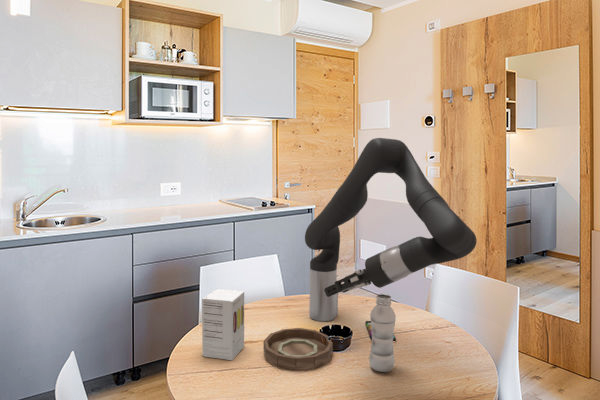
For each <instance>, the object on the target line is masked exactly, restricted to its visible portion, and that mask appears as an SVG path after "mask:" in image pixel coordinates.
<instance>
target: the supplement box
mask: <svg viewBox="0 0 600 400" xmlns="http://www.w3.org/2000/svg"><path fill="white" fill-rule="evenodd" d="M201 323H202V324H201V325H202V326H201V329H202V330H201V331H202V333H201V334H202V335H201V336H202V347H201V349H202V350H201V351H202V357H205V358H213V359H218V360H219V359H221V360H225V361H226V360H228V361H233V360H234V359H235V358H236V357H237V356H238V355H239V353H240V352H241V351H242V349H244V348H245V291H243V290H242V291H241V290H234V289H233V290H230V289H223V288H221V289H219V288H218V289H217V288H215V289H214V290H213V291H212V292H210V293H208V294H207V295H206V296H203V298H201Z"/></svg>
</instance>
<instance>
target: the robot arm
mask: <svg viewBox="0 0 600 400" xmlns="http://www.w3.org/2000/svg"><path fill="white" fill-rule="evenodd" d="M378 173H382V174H395V175H397V176H398V177H399V178H400V179H401V180H402V181H403V183H404V184H405V197H406V200H407V203H408V205H409V206H410V207H411V209H412V210H413V212H414V213H415V214H416V216H417V217H418V219H420V220H421V221H422V223H423V224H424V225H425V227H426V229H427V231H428V232H429V234H430V236H431V238H430V237H429V238H428V237H425V236H416V237H413V238H411V239H409V240H407V241H405V242H403V243H400V244H397V245H395V246H392V247H388V248H387V249H384V250H383V251H380V252H378V253H376V254H374V255H372V256H370V257H368V258H366V259H365V261H364V266H365V268H363V269H358V270H356V271H355V272H353V273H351V274H348V275H345V276H344V277H343V278H341V279H338V280H337V277H338V276H337V275H338V274H337V273H338V271H337V270H338V264H339V263H338V262H339V260H340V259H339V258H340V246H341V245H340V244H341V231H340V228H339V227H340V226H342V225H344V224H346V223H347V222H349V221H350V220H352V219H353V218H354V217H356V216H357V215H358V214H359V213H360V211H362V209H363V208H364V207H365V205H366V203H367V202H368V197H369V196H368V195H369V194H368V193H369V192H368V183H369V181H370V180H371V179H372V178H373V177H374V176H375V175H376V174H378ZM304 234H305V235H304V242H305V245H306V247H308V248H309V249H310V250H313V251H314V250H315V251H320V250H321V252H320V253H319V254H318V255H316V256H315V257H312V258H311V260H310V262H309V307H308V309H309V314H308V315H309V318H310V319H311V320H314V321H318V322H329V321H333V320H335V319H336V317H338V315H339V313H338V312H339V310H338V309H339V293H347V292H349V291H352V290H355V289H359V288H361V289H362V288H364V287H367V286H370V285H372V284H373V286H375V287H377V288H379V289H381V288H384V287H386V286H388V285H390V284H393V283H395V282H398V281H400V280H402V279H405V278H407V277H408V276H410V275H412V274H413V273H416V272H418V271H420V270H423V269H426V268H428V267H429V266H432V265H438V264H442V263H447V262H452V261H456V260H461V258H462V259H463V258H464V257H466V256H468V255H469V254H471V253H472V251H474V250H475V247H476V245H477V241H478V239H477V235H476V234H475V232H474V231H473V230H472V229H471V228H470V227H469V226H468V225H467V224H466V223H465V222H464V221H463V220H462V218H460V217H459V216H458V215H457V214H456V212H454V210H453V209H452V208H450V205H449V204H448V202H447V201H446V200H445V199H444V198H443V197H442V196H441V194H440V193H439V192H438V190H437V189H435V187H434V186H433V185H432V184H431V183H430V181H429V180H428V179H427V178H426V176H425V174H424V173H423V171H422V170H421V168H420V166H419V164H418V162H417V160H416V159H415V157H414V155H413V154H412V151H410V149H409V147H408V146H407V145H406V144H405V142H404V141H402V140H401V139H400V140H399V139H395V138H385V137H384V138H383V137H375V138H372V139H370V140H369V142H367V144H366V145H365V146H364V148H363V150H362V151H361V153H360V155H359V157H358V159H357V160H356V162H355V164H354V166H353V168H352V169H351V171H350V172H349V173H348V175H347V177H346V178H345V180H344V181H343V183H341V185H340V186H339V188H338V189H337V190H336V192H335V193H334V194H333V196H332V197H331V200H329V202H328V203H327V204H326V205H325V207H324V208H323V210H322V211H321V212H320V213H319V214H318V215H317V216H316V217H315V218H314V219H313V220H312V221H311V222H310V224H308V226H307V228H306V230H305V233H304Z"/></svg>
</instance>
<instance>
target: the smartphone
mask: <svg viewBox="0 0 600 400" xmlns="http://www.w3.org/2000/svg"><path fill="white" fill-rule="evenodd" d="M365 326H366V331H367V332H368V335H369V338H370V340H372V326H371V320H365ZM395 340H396V341H397V338H396V336H395V333H393V341H395Z"/></svg>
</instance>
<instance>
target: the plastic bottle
mask: <svg viewBox="0 0 600 400" xmlns="http://www.w3.org/2000/svg"><path fill="white" fill-rule="evenodd" d="M375 303H376V305H375V306H374V307H373V308H372V310H371V311H370V314H369V315H370V316H369V317H370V321H371V326H372V341H371V346H370V352H369V357H368V360H369V365H370V367H371V369H372V370H374V371H376V372H380V373H388V372H392V370H393V369H394V367H395V364H396V361H395V360H396V359H395V353H394V342H393V334H394V332H395V331H394V330H395V325H396V321H397V320H396V319H397V316H396V313H395V311H394V308H393V307H392V306H391V305H392V296H391V295H390V294H387V293H386V294H385V293H379V294H377V295H376V300H375Z"/></svg>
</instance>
